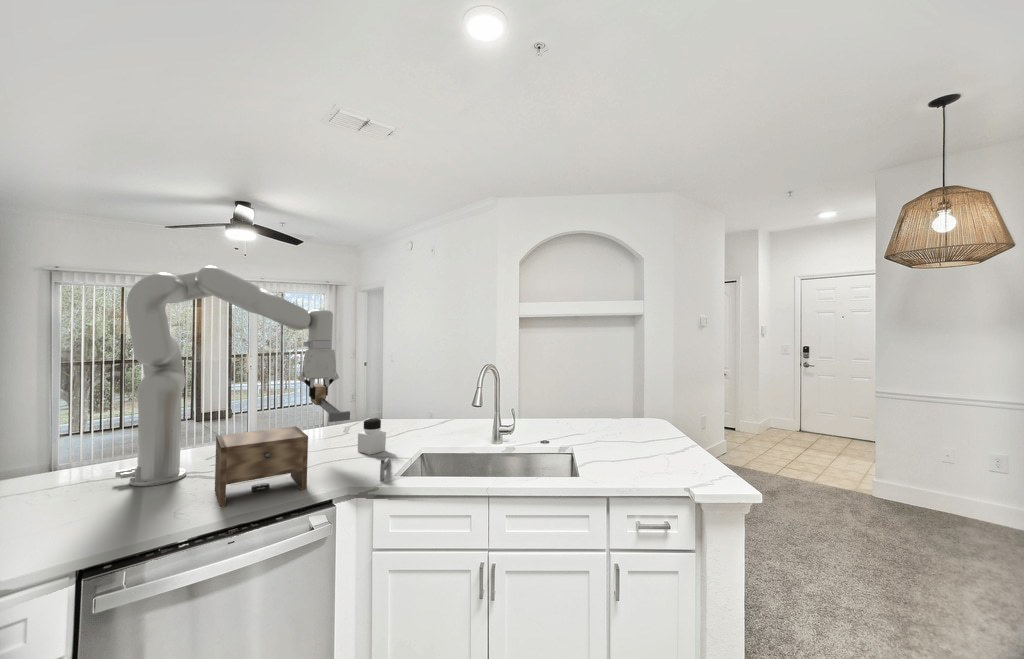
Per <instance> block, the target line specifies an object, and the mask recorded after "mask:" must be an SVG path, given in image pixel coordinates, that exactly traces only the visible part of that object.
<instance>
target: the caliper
mask: <svg viewBox="0 0 1024 659" xmlns="http://www.w3.org/2000/svg"><path fill="white" fill-rule="evenodd" d="M390 460H391V459H390V457H386V458H385V459H384V458H383V459H381V460H380V466H379V467H380V468H379V469H380V471H379V481H380V482H383V481H384V480H385V472H386V469H387V466H388V465H389V463H390Z"/></svg>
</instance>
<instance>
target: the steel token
mask: <svg viewBox="0 0 1024 659" xmlns="http://www.w3.org/2000/svg"><path fill="white" fill-rule="evenodd" d="M270 486H271V484H270V483H267V482H264V483H263V482H261V483H257V484H253V485H251V490H252V491H251V490H250V491H251V492H260V491H261V492H262V491H266V490H269V489H270ZM268 488H269V489H268Z"/></svg>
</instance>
